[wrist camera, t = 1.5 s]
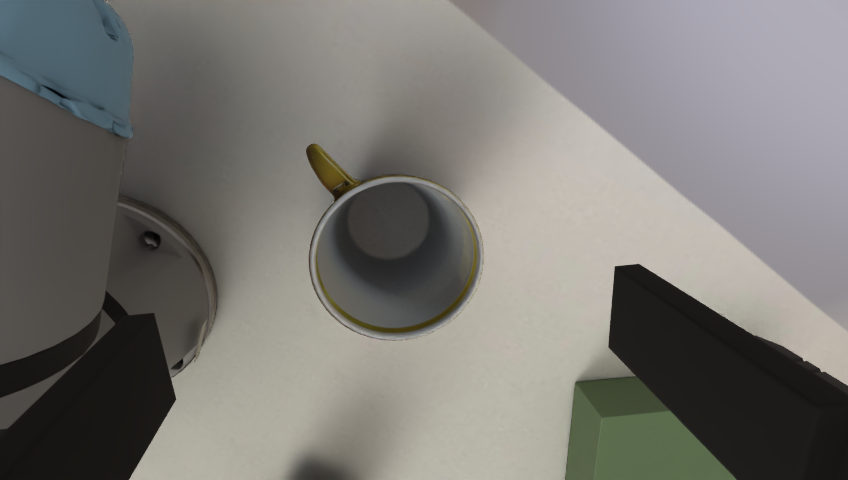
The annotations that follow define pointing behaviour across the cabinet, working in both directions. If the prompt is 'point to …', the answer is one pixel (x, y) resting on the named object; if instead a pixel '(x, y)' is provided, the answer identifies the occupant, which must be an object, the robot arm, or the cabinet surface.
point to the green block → (632, 437)
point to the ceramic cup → (392, 253)
